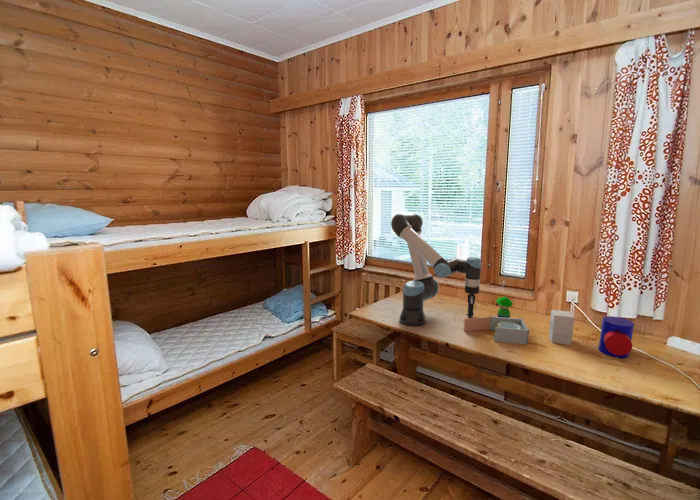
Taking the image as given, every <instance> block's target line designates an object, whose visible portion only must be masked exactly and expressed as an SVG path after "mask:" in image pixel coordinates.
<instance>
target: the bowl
mask: <svg viewBox="0 0 700 500" xmlns="http://www.w3.org/2000/svg"><path fill="white" fill-rule="evenodd" d="M497 326H498V327H501V328H512V329H521V327H520V326H519V325H518V324H515V323H512V322H499V323H498V324H497Z"/></svg>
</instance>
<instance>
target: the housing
mask: <svg viewBox="0 0 700 500" xmlns="http://www.w3.org/2000/svg"><path fill="white" fill-rule="evenodd" d="M490 316H491V315H490ZM499 322H512V323H515V324H518V325H519V326H520V327H521V329H512V328H501V327H498V326H497V324H498V323H499ZM489 330H491V331H494V340H493V341H494V342H500V343H509V344H520V345H528V343H529V336H530V335H529V334H530V330H529V328H528V327H527V325H526V323H525V321H524V320H523V319H522V318H514V317H509V318H504V317H498V316H491V323H490V329H489Z"/></svg>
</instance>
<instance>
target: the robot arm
mask: <svg viewBox="0 0 700 500" xmlns="http://www.w3.org/2000/svg"><path fill="white" fill-rule="evenodd" d="M423 224H424V220H423V218H422V216H421V214H419V213H418V212H416V211H415V212H414V211H409V212H408V211H407V212H399V213H397V214H395V215H393V217H392V218H391V222H390V225H391V230H392V231H393V233H394V234H395V235H396V236H397V237H398V238H399V239H401V240H402V239H403V240H404V241H405V243H407V248H408V251H409V256H410V260H411V265H412V269H413V272H414V276H415V277H414V278H413V280H410V281H407V282H405V283H404V285H403V289H402V293H403V294H402V297H403V299H402V310H401V313H400V315H399V322H400V323H401V324H402V325H405V326H409V327H420V326H423V325H425V324H426V323H427V322H426V321H427V319H426V315H425V312H424V302H425V301H428V300H429V299H432V298H434V297H435V296H437V294H438V293H439V290H440V286H439V283H438V281H437V280H436V279H435V278H434V276H433V274H431V273H430V271H429V267H428V264H429V265H430V266H431V267H432V268H433V269H434V271H433V272H434V274H435V275H436V276H437V277H438V278H442V279H443V278H447V277H449V276H452V275H454V274H456V273H460V274H465V277H464V293H466V294H467V313H466V316H467V317H466V318H474V317H473V316H474V315H475V313H474V305H475V304H476V302H475V300H476V295H478V294H479V293H480V283H481V282H482V280H481V270H482V260H481V258H480V257H475V256H470V257H469V256H468V257H467V258H466V259H462V258H456V257H448V258H446V259H445V258H444V257H443V256H442V255H440V254H439V253H438V252H437V251H436V250H435V249H434V248H433V247H432V246H431V245H430V244H429V243H428V242H427V241H426V240H425V239H424V238H422V237H421V234H422V226H423Z"/></svg>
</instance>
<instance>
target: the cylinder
mask: <svg viewBox="0 0 700 500" xmlns="http://www.w3.org/2000/svg"><path fill="white" fill-rule="evenodd" d="M634 329H635V323H634V322H633V321H631V320H629V319H626V318H623V317H619V316H611V315H610V316H604V317H602V322H601V326H600V336H599V341H598V351H599V352H600V353H601V352H602V353H601V354H603V353H604V354H603V355H605V354H606V356H608V355H609V356H608V357H611V356H612V357H611V358H615V357H618V358H617V359H626V358H625V357H628V356H629V357H630V353H631V351H632V350H633V343H632V341H633V335H634ZM629 357H628V358H629Z"/></svg>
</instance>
